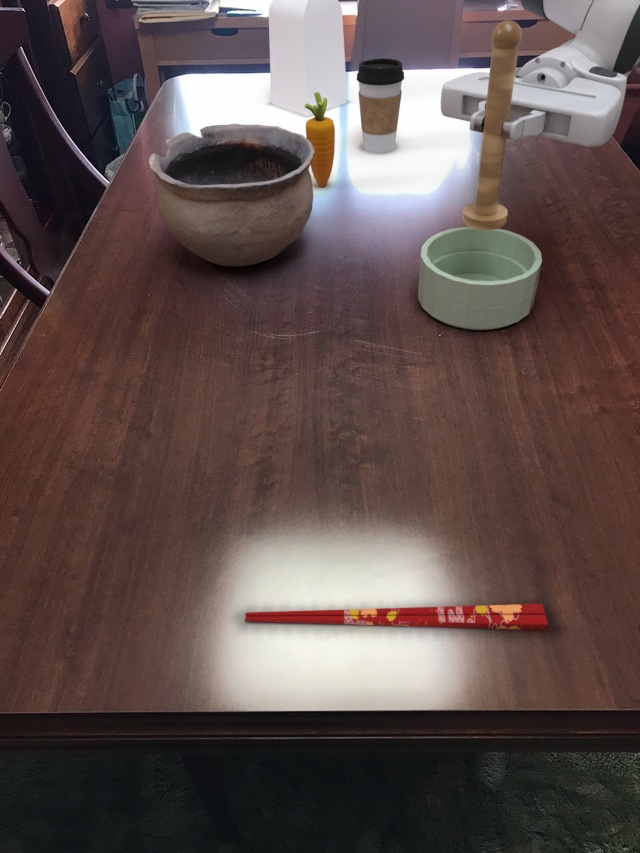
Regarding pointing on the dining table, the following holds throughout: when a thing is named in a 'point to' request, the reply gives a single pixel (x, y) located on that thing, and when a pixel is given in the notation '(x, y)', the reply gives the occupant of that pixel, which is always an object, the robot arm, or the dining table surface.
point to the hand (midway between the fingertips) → (492, 128)
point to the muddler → (495, 129)
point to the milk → (306, 54)
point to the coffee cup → (379, 102)
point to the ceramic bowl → (235, 191)
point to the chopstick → (421, 616)
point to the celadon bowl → (478, 277)
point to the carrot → (321, 141)
